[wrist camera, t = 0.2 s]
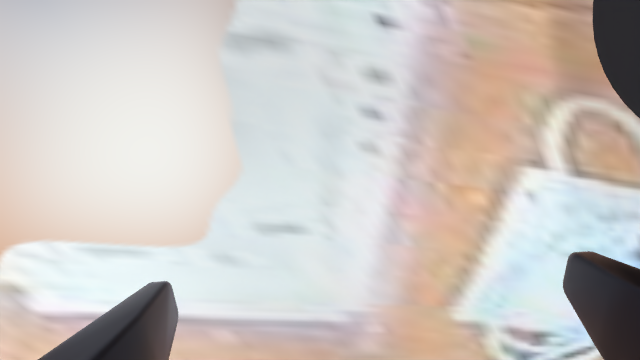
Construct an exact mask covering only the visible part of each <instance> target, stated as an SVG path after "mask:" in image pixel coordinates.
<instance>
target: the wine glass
mask: <svg viewBox="0 0 640 360" xmlns="http://www.w3.org/2000/svg"><path fill="white" fill-rule="evenodd" d="M593 30H594V40H595V44H596V48H597V53H598V57H599V59H600V62H601V65H602V67H603V70H604V72H605V74H606V76H607V78H608V80H609V82H610V83H611V85H612V87H613V89H614V90H615V91H616V93H617V94H618V95H619V97H620V98H621V99H622V101H623V102H624V103H625V104H626V105H627V106H628V107H629V108H630V109H631V110H632V111H633V112H634V113H635V115H636V116H638V117H639V118H640V0H594V1H593Z"/></svg>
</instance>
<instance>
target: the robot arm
mask: <svg viewBox="0 0 640 360" xmlns="http://www.w3.org/2000/svg"><path fill="white" fill-rule="evenodd" d="M563 288H564V292H565V294H566V296H567V298H568V300H569V301H570V303H571V305H572V306H573V308H574V310H575V312H576V313H577V315H578V317H579V319H580V320H581V322H582V324H583V325H584V327H585V329H586V331H587V332H588V334H589V336H590V337H591V339H592V341H593V343H594V344H595V346H596V348H597V349H598V351H599V352H600V354H601V356H602V357H603V359H604V360H640V269H638V268H635V267H632V266H630V265H627V264H624V263H621V262H619V261H616V260H613V259H611V258H608V257H605V256H603V255H600V254H597V253H594V252H589V251H588V252H574V253H572V254H571V255H570V256H569V258H568V261H567V266H566V271H565V275H564V280H563ZM177 322H178V309H177V305H176V301H175V297H174V293H173V289H172V286H171V284H170V283H169V282H167V281H163V282H151V283H149V284H147V285H146V286H144V287H143V288H141V289H140V290H139V291H137V292H136V293H134V294H133V295H131V296H130V297H128V298H127V299H125V300H124V301H123V302H121V303H120V304H118V305H117V306H115V307H114V308H112V309H111V310H109V311H108V312H107V313H105V314H104V315H102V316H101V317H99V318H98V319H96V320H95V321H93V322H92V323H91V324H89V325H88V326H86V327H85V328H83V329H82V330H80V331H79V332H77V333H76V334H75V335H73V336H72V337H70V338H69V339H67V340H66V341H64V342H63V343H61V344H60V345H59V346H57V347H56V348H54V349H53V350H51V351H50V352H48V353H47V354H45V355H44V356H43V357H41V358H40V359H38V360H169V356H170V352H171V347H172V343H173V339H174V335H175V331H176V326H177Z"/></svg>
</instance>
